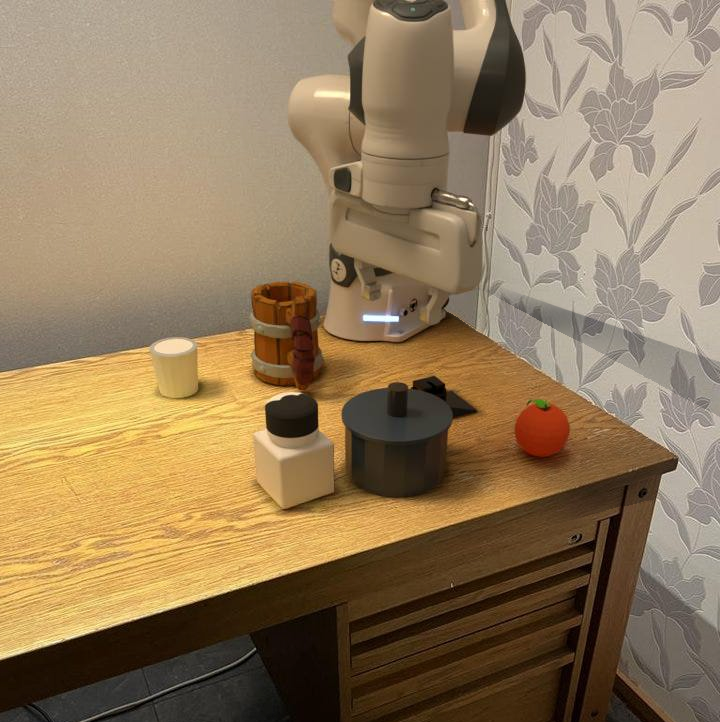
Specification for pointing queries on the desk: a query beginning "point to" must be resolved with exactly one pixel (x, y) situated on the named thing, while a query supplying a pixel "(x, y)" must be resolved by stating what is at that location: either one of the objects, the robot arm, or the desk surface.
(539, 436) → the clementine
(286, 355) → the mug
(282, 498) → the medicine bottle
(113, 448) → the desk surface
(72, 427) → the desk surface
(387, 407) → the pot lid
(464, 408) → the black wedge
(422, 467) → the enamel pot
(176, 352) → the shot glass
